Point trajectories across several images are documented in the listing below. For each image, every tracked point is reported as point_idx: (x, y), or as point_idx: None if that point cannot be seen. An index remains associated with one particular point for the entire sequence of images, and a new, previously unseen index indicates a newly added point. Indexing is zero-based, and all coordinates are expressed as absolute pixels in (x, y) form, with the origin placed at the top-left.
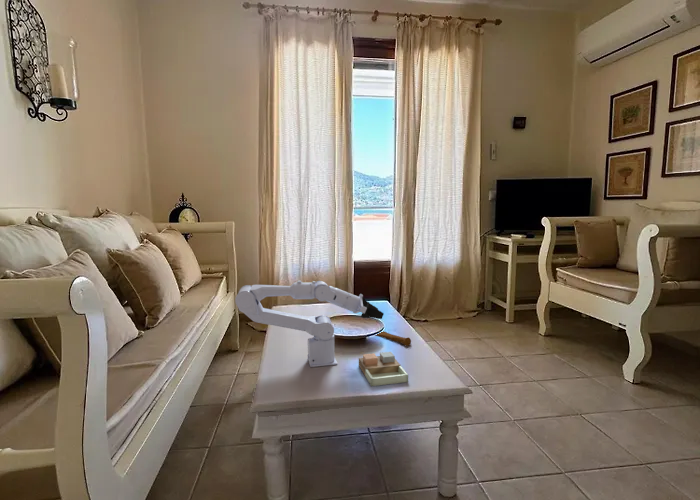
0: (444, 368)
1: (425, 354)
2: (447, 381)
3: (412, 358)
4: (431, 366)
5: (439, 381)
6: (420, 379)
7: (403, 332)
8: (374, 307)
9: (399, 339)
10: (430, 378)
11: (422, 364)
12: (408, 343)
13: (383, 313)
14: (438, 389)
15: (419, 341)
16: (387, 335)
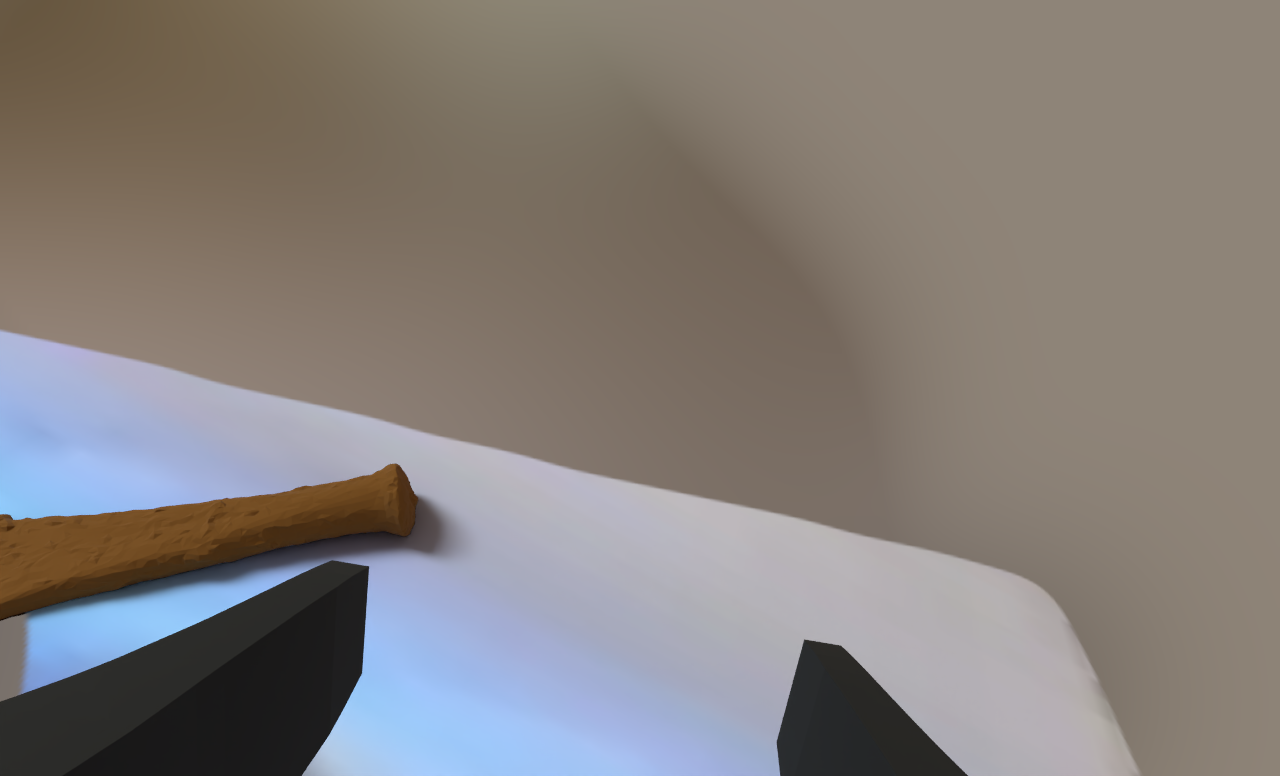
0: (825, 526)
1: (608, 505)
2: (992, 604)
3: (642, 610)
4: (792, 571)
5: (999, 643)
6: (989, 744)
7: (150, 413)
8: (312, 625)
9: (317, 524)
10: (965, 671)
11: (754, 603)
12: (415, 504)
13: (842, 649)
14: (1110, 709)
15: (392, 424)
16: (124, 558)
